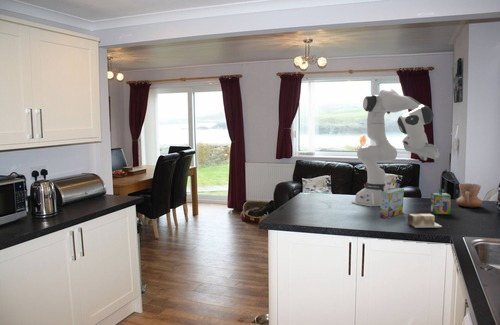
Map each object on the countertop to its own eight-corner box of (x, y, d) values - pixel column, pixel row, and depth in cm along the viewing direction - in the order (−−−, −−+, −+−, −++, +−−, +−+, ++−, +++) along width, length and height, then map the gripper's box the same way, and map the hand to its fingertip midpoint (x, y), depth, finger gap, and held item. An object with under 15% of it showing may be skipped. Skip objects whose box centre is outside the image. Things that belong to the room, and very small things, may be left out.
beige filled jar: (412, 216, 210) (434, 215, 210) (408, 213, 215) (430, 213, 215) (411, 225, 211) (434, 225, 211) (407, 223, 216) (429, 222, 216)
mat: (415, 227, 209) (415, 226, 209) (408, 223, 218) (408, 222, 218) (442, 227, 209) (442, 226, 209) (433, 222, 218) (433, 221, 218)
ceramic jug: (459, 202, 269) (460, 181, 267) (484, 205, 260) (485, 183, 258) (452, 207, 255) (453, 186, 254) (478, 211, 246) (479, 188, 244)
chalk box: (450, 214, 236) (451, 190, 234) (433, 214, 238) (435, 189, 236) (446, 211, 245) (447, 187, 243) (430, 210, 247) (431, 187, 245)
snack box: (388, 219, 227) (389, 192, 225) (379, 217, 231) (380, 191, 229) (403, 212, 242) (404, 188, 241) (394, 211, 246) (395, 186, 245)
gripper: (439, 142, 210) (444, 160, 218) (406, 133, 227) (412, 151, 234) (432, 149, 209) (437, 168, 216) (399, 140, 225) (405, 158, 233)
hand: (424, 159), depth 226 cm, fingers closed
